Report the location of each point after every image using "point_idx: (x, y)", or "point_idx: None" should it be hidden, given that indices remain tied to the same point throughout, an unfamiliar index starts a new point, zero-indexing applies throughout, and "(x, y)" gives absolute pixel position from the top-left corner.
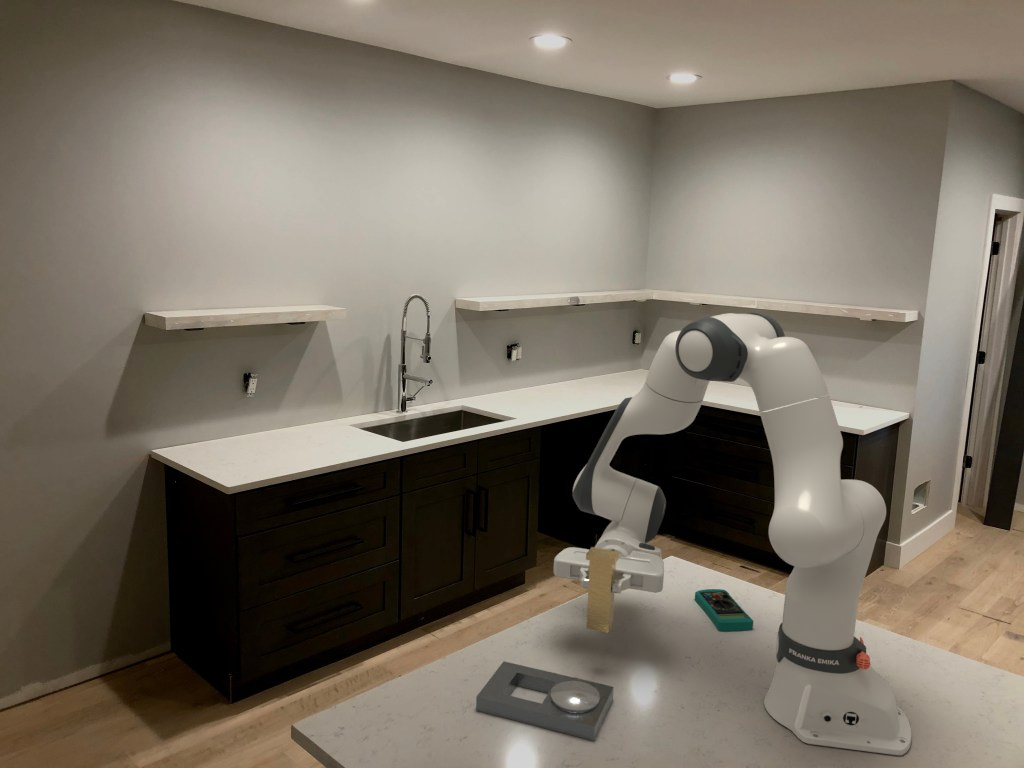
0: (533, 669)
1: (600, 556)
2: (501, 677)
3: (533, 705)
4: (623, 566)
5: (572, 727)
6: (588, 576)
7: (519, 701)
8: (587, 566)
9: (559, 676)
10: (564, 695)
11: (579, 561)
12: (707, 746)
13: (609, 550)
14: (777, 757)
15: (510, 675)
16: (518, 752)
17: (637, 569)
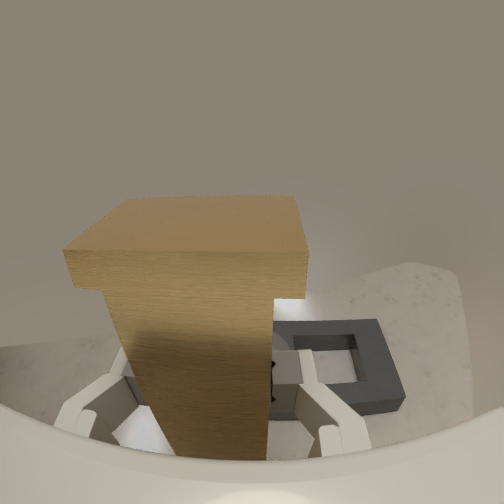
0: (348, 400)
1: (205, 196)
2: (379, 361)
3: (302, 329)
4: (70, 473)
5: None
6: (288, 378)
7: (323, 329)
8: (336, 455)
9: None
10: None
11: (409, 459)
12: (81, 352)
13: (136, 247)
14: (25, 346)
15: (371, 370)
16: (290, 301)
17: (7, 430)
